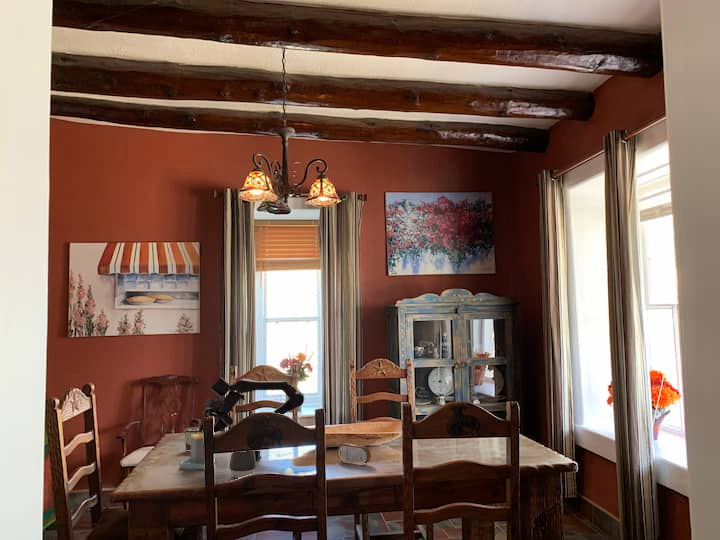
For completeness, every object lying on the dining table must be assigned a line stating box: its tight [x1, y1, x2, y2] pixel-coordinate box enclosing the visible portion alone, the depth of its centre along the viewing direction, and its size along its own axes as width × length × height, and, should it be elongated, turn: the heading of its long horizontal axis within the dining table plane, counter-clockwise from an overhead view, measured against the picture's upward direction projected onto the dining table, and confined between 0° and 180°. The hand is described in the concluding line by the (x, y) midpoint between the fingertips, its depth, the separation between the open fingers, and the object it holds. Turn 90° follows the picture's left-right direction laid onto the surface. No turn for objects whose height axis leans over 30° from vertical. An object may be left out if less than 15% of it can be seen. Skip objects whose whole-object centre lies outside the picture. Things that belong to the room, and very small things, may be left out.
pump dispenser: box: [229, 451, 257, 479], centre depth 203 cm, size 10×10×15 cm
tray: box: [179, 456, 217, 470], centre depth 217 cm, size 11×11×2 cm
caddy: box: [189, 433, 204, 464], centre depth 217 cm, size 5×5×12 cm
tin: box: [336, 442, 372, 464], centre depth 222 cm, size 15×3×8 cm, turn 65°
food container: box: [183, 426, 203, 451], centre depth 243 cm, size 12×6×10 cm, turn 84°
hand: (204, 432), depth 219 cm, fingers open, 9 cm apart
